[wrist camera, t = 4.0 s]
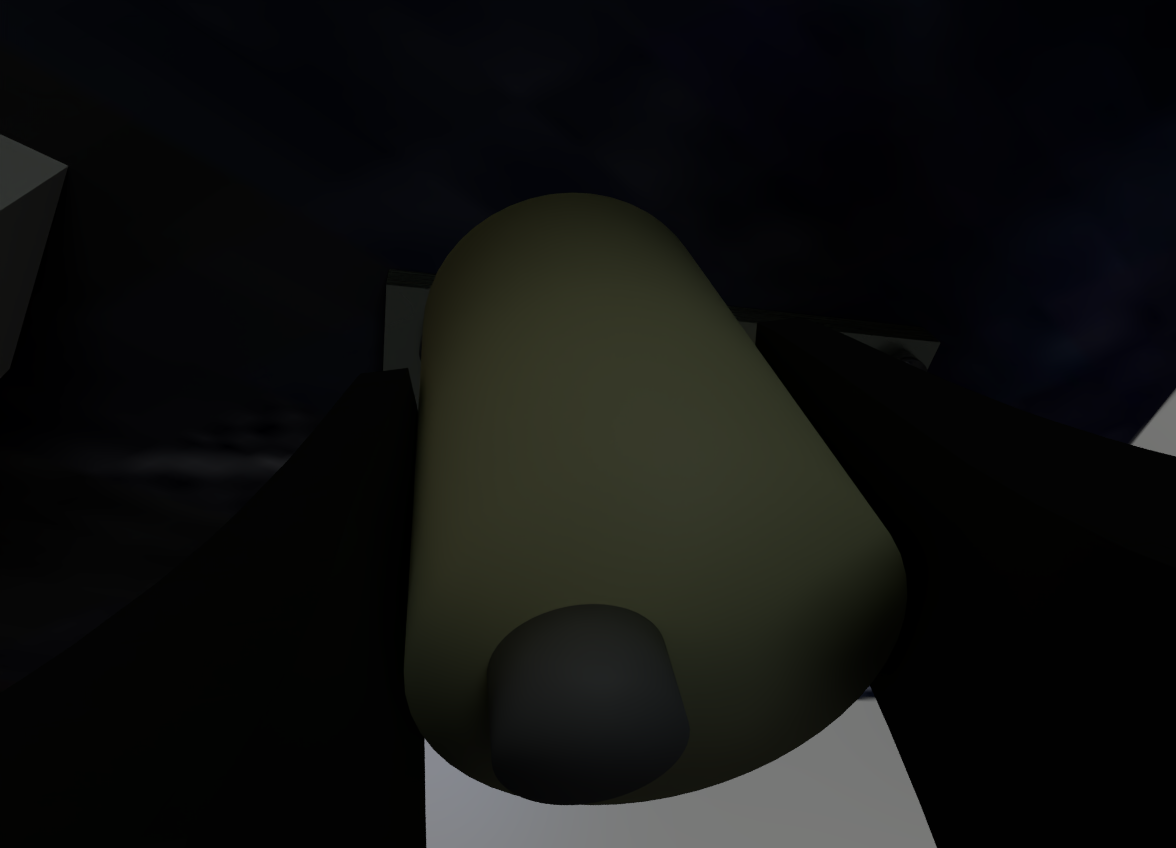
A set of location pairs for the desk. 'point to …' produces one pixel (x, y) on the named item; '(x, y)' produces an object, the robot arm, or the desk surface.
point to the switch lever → (623, 523)
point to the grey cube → (23, 232)
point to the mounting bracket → (895, 340)
